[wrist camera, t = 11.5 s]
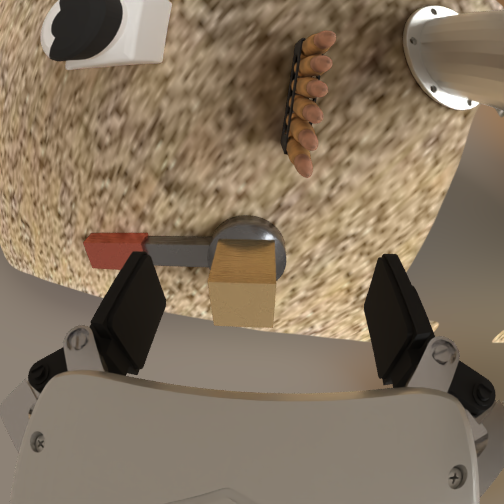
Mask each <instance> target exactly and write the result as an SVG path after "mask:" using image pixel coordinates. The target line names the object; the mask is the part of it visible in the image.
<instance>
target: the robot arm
mask: <svg viewBox="0 0 504 504" xmlns="http://www.w3.org/2000/svg"><path fill="white" fill-rule="evenodd" d="M410 40H411V42H410ZM403 46H404V53H405V56H406V60H407V63H408V66H409V68H410V70H411V73H412V74H413V76H414V78H415V79H416V81H417V83H418V84H419V85H420V87H421V88H422V89H423V90H424V92H425V93H426V94H428V95H429V96H430V97H431V98H432V99H433V100H435V101H436V102H438V103H439V104H441V105H443V106H445V107H448V108H452V109H455V110H468V109H471V108H473V107H475V106H477V105H478V104H479V103H482V104H485V105H488V106H491V107H494V108H497V109H500V110H503V111H504V10H493V11H481V12H471V13H463V14H458V13H457V12H455V11H453V10H451V9H449V8H446V7H443V6H437V5H432V6H426V7H422V8H420V9H418V10H416V11H414V12H413V13H412V14H411V15H410V17H409V18H408V20H407V22H406V24H405V28H404V32H403ZM430 87H431V90H430ZM165 307H166V299H165V296H164V293H163V290H162V288H161V285H160V282H159V279H158V276H157V273H156V270H155V267H154V264H153V261H152V258H151V256H150V255H148V254H147V253H146V252H145V251H134V252H132V253H131V255H130V256H129V258H128V259H127V261H126V262H125V264H124V266H123V267H122V269H121V270H120V272H119V274H118V275H117V277H116V279H115V280H114V282H113V283H112V285H111V287H110V288H109V290H108V292H107V294H106V295H105V297H104V299H103V300H102V302H101V304H100V306H99V308H98V309H97V311H96V313H95V315H94V317H93V318H92V320H91V325H90V327H88V326H85V325H79V326H76V327H74V328H72V329H71V330H70V331H69V332H68V333H67V335H66V336H65V338H64V341H63V348H61V349H59V350H57V351H56V352H54V353H52V354H50V355H48V356H46V357H45V358H43V359H41V360H39V361H37V362H36V363H35V364H34V365H33V366H32V367H31V369H30V371H29V375H28V381H27V380H26V379H24V380H23V381H22V383H20V384H19V385H18V386H17V387H16V389H14V390H13V391H12V392H11V393H10V394H9V395H8V396H7V398H6V399H5V400H4V401H3V402H2V403H1V406H0V415H1V418H2V420H3V423H4V425H5V427H6V429H7V432H8V434H9V436H10V438H11V440H12V442H13V444H14V446H15V448H16V449H17V451H18V453H19V455H18V459H17V463H16V468H15V473H14V478H13V484H12V490H11V498H10V504H479V499H480V497H481V496H482V495H483V494H484V492H485V491H486V490H487V489H488V488H489V486H490V485H491V484H492V482H493V481H494V480H495V479H496V477H497V476H498V475H499V473H500V472H501V471H502V469H503V468H504V406H503V404H502V403H501V402H500V401H499V400H498V401H497V402H496V400H495V390H494V386H493V385H492V383H491V382H490V381H489V380H487V379H486V378H485V377H483V376H482V375H480V374H479V373H477V372H476V371H474V370H473V369H471V368H470V367H468V366H467V365H465V364H464V363H462V362H461V361H459V357H460V355H459V350H458V348H457V346H456V344H455V343H454V342H453V341H452V340H450V339H449V338H446V337H442V336H438V337H435V335H434V333H433V330H432V327H431V325H430V322H429V320H428V317H427V315H426V312H425V310H424V307H423V305H422V303H421V300H420V298H419V296H418V293H417V291H416V289H415V288H414V286H412V285H411V282H410V280H409V278H408V276H407V274H406V272H405V269H404V267H403V265H402V263H401V261H400V259H399V257H398V255H397V254H383V255H382V257H380V258H378V260H377V264H376V267H375V271H374V274H373V278H372V281H371V284H370V288H369V291H368V294H367V297H366V300H365V304H364V312H365V316H366V321H367V325H368V329H369V333H370V338H371V342H372V347H373V351H374V357H375V362H376V367H377V372H378V376H379V378H380V379H381V378H382V379H383V385H388V384H393V388H387V389H378V390H367V391H352V392H336V393H309V394H282V393H253V392H236V391H224V390H214V389H203V388H196V387H187V386H181V385H174V384H167V383H161V382H156V381H150V380H145V379H139V378H134V377H129V376H126V374H127V373H130V374H134V375H138V372H139V370H140V369H142V368H143V366H144V364H145V361H146V358H147V355H148V353H149V349H150V347H151V344H152V341H153V339H154V336H155V333H156V331H157V328H158V325H159V322H160V320H161V317H162V315H163V312H164V310H165Z"/></svg>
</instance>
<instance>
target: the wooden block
mask: <svg viewBox="0 0 504 504" xmlns="http://www.w3.org/2000/svg"><path fill="white" fill-rule="evenodd" d="M208 288H209V295H210V302H211V309H212V315H213V321H214V325H217V326H236V327H267V328H273V320H274V307H275V293H276V263H275V240H255V239H219V240H218V243H217V247H216V251H215V255H214V259H213V263H212V266H211V270H210V274H209V278H208Z"/></svg>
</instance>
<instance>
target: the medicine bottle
mask: <svg viewBox="0 0 504 504" xmlns="http://www.w3.org/2000/svg"><path fill="white" fill-rule="evenodd" d="M171 7H172V3H171V2H170V1H168V0H58V1H57V2H56V3H55V4H54V5H53V6H52V8H51V9H50V11H49V12H48V14H47V16H46V18H45V20H44V22H43V25H42V29H41V45H42V48H43V51H44V52H45V54H46V55H47V56H48V57H49V58H50V59H52V60H55V61H66V66H65V67H66V69H67V70H74V69H85V68H101V67H112V66H122V65H136V64H159V63H161V62H162V61H163V55H164V48H165V41H166V35H167V29H168V23H169V17H170V12H171Z"/></svg>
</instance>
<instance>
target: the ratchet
mask: <svg viewBox="0 0 504 504" xmlns="http://www.w3.org/2000/svg"><path fill="white" fill-rule="evenodd" d="M219 239H255V240H275V263H276V281H277V280H278V279H279V278H280V277H281V275H282V274H283V272H284V269H285V266H286V251H285V242H284V239H283V236H282V234H281V233H280V231H279V230H278V229H277V228H276V227H275V226H274V225H273V224H272V223H270V222H269V221H267V220H265V219H263V218H259V217H256V216H237V217H234V218H231V219H229V220H227V221H225V222H223V223H222V224H221V225H220V226H219V227H218V228H217V229H216V230H215V232H214V234H213V236H212V237H187V236H148V233H91V234H90V235H89V237H88V238H87V239H86V240H85V241H84V242H83V244H84V247H85V250H86V252H87V255H88V258H89V260H90V263H91V265H92V268H99V269H117V270H121V269H122V267H123V266H124V264H125V262H126V261H127V259H128V258H129V256H130V255H131V253H132V252H134V251H145V252H146V253H147V254H148V255H150V256H151V258H152V261H153V264H154V265H158V266H186V267H209V269H210V270H211V266H212V263H213V259H214V255H215V251H216V247H217V243H218V240H219Z"/></svg>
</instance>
